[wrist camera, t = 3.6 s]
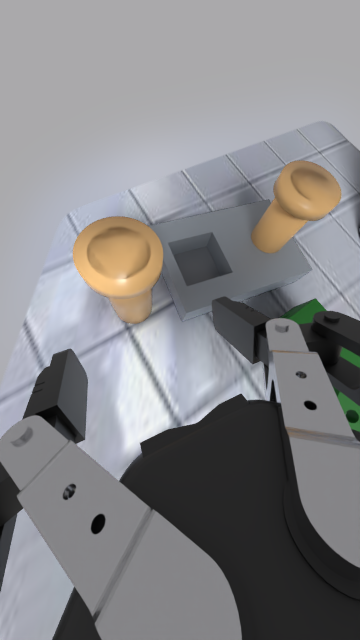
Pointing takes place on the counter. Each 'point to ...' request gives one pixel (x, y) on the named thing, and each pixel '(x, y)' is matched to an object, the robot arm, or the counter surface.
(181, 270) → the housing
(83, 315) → the counter surface
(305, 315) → the clamp
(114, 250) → the tan peg
